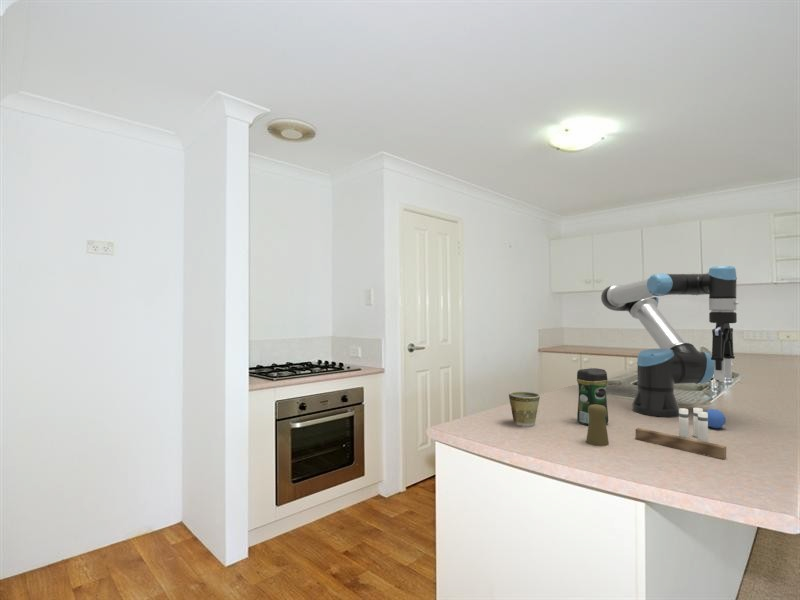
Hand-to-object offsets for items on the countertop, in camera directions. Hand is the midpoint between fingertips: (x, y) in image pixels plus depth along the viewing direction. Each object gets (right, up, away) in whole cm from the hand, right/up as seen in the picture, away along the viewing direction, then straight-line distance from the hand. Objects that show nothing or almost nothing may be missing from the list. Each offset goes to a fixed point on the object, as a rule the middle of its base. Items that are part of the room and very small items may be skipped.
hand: (723, 378), depth 149 cm
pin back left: (-24, -15, -16) cm, 33 cm away
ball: (-7, -12, -6) cm, 15 cm away
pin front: (-19, -15, -16) cm, 29 cm away
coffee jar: (-45, -15, 0) cm, 47 cm away
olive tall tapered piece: (-53, -15, -21) cm, 59 cm away
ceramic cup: (-67, -15, 0) cm, 69 cm away
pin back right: (-21, -15, -20) cm, 33 cm away
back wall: (-32, -15, -26) cm, 44 cm away
